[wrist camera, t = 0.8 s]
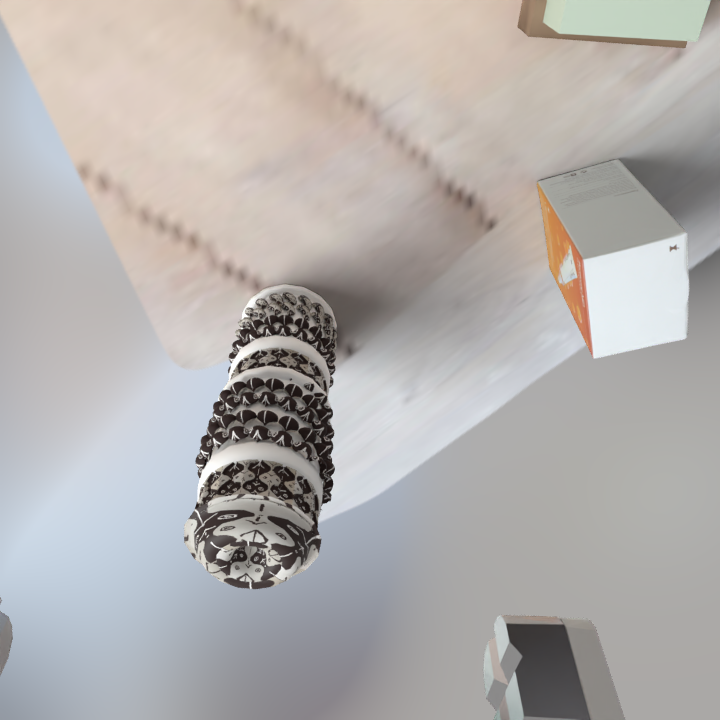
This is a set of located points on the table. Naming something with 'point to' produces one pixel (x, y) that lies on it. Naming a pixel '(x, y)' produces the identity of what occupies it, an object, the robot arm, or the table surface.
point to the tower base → (535, 27)
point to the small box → (616, 258)
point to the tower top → (628, 18)
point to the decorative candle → (268, 444)
